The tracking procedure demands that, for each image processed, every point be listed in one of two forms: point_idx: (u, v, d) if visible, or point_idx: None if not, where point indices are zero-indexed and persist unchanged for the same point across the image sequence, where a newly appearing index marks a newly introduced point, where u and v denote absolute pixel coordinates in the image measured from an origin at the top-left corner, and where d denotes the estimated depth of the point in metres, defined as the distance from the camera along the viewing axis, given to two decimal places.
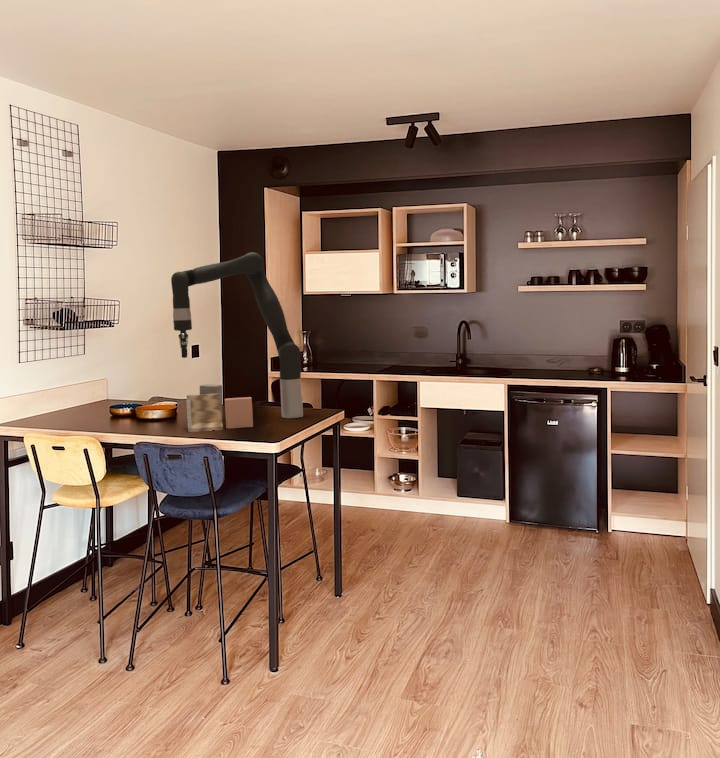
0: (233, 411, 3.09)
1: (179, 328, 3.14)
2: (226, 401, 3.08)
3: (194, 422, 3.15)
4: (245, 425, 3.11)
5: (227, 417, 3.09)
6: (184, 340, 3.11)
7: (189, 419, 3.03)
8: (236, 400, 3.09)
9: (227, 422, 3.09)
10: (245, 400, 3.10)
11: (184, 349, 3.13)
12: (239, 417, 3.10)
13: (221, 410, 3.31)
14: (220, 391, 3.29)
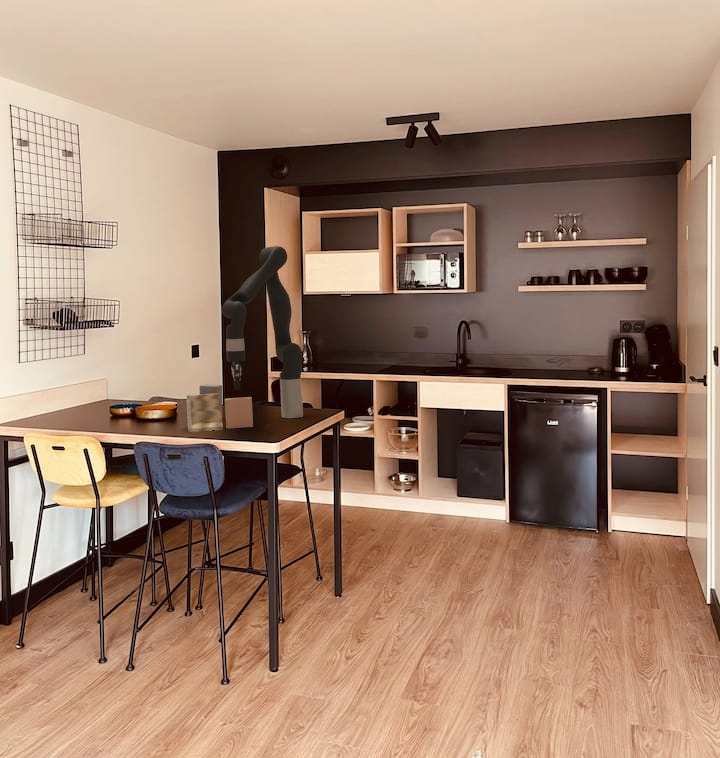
0: (233, 411, 3.09)
1: (233, 359, 3.05)
2: (226, 401, 3.08)
3: (194, 422, 3.15)
4: (245, 425, 3.11)
5: (227, 417, 3.09)
6: (238, 372, 3.03)
7: (189, 419, 3.03)
8: (236, 400, 3.09)
9: (227, 422, 3.09)
10: (245, 400, 3.10)
11: (237, 381, 3.05)
12: (239, 417, 3.10)
13: (221, 410, 3.31)
14: (220, 391, 3.29)
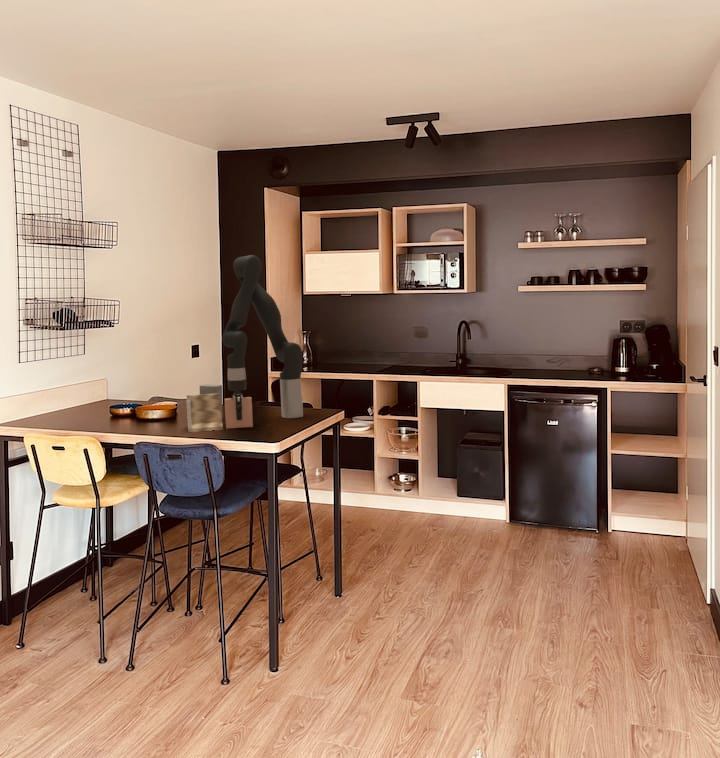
0: (233, 411, 3.09)
1: (234, 388, 3.07)
2: (226, 401, 3.08)
3: (194, 422, 3.15)
4: (245, 425, 3.11)
5: (227, 417, 3.09)
6: (240, 404, 3.05)
7: (189, 419, 3.03)
8: None
9: (227, 422, 3.09)
10: (245, 400, 3.09)
11: (239, 411, 3.08)
12: None
13: (221, 410, 3.31)
14: (220, 391, 3.29)
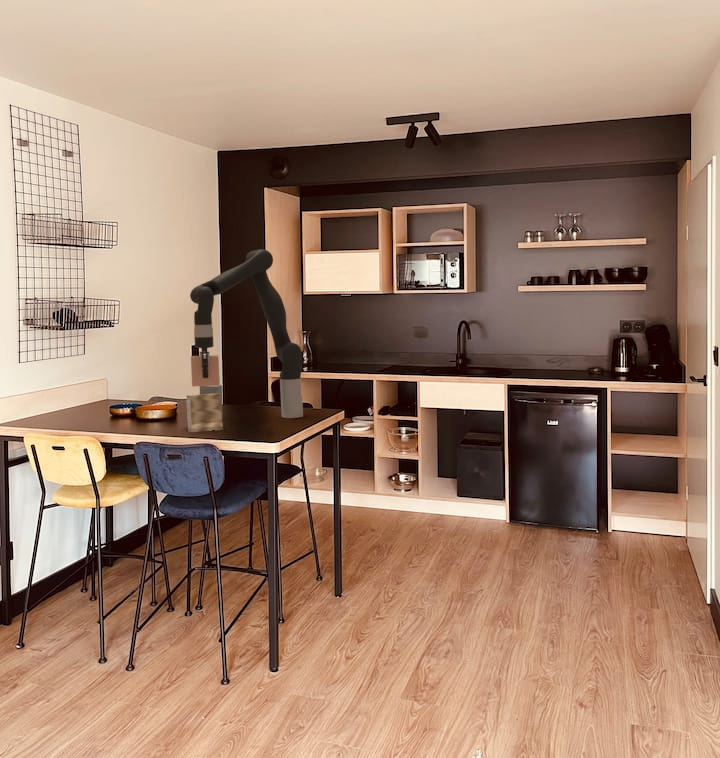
0: (199, 369, 3.03)
1: (200, 345, 3.01)
2: (192, 358, 3.02)
3: (194, 422, 3.15)
4: (211, 383, 3.04)
5: (193, 375, 3.02)
6: (206, 361, 2.99)
7: (189, 419, 3.03)
8: None
9: (193, 380, 3.03)
10: (212, 358, 3.03)
11: (205, 369, 3.02)
12: None
13: (221, 410, 3.31)
14: (220, 391, 3.29)
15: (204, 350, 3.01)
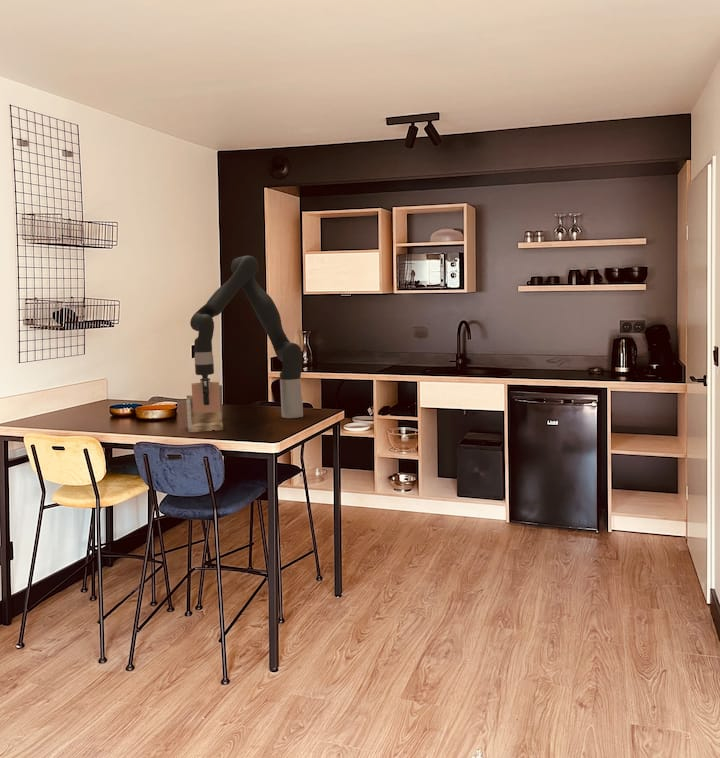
0: (200, 396, 3.04)
1: (201, 373, 3.02)
2: (193, 385, 3.03)
3: (194, 422, 3.15)
4: (212, 410, 3.06)
5: (194, 402, 3.04)
6: (206, 388, 3.01)
7: (189, 419, 3.03)
8: None
9: (194, 407, 3.04)
10: (212, 384, 3.05)
11: (206, 396, 3.03)
12: None
13: (221, 410, 3.31)
14: (220, 391, 3.29)
15: (205, 377, 3.02)
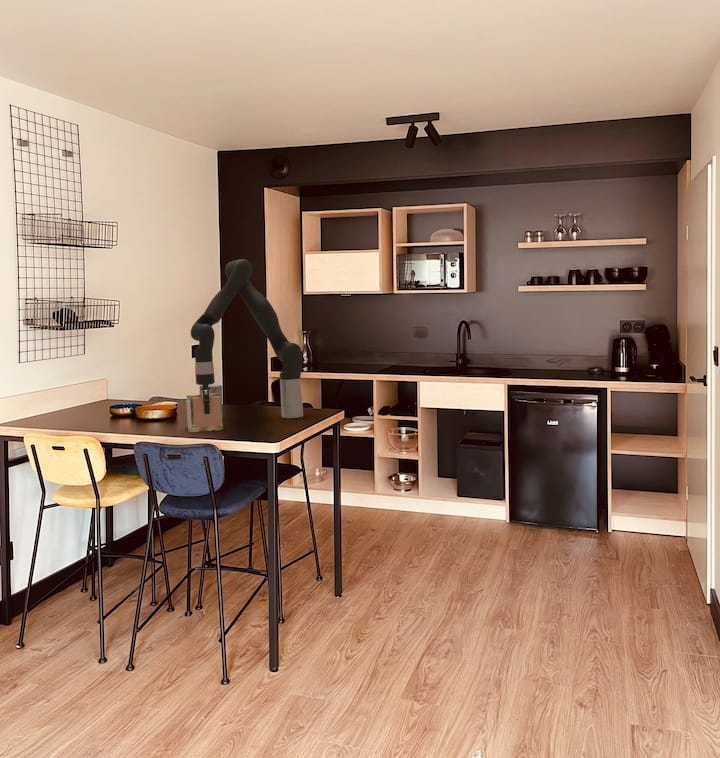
0: (201, 410, 3.05)
1: (202, 382, 3.02)
2: (194, 400, 3.04)
3: None
4: (213, 424, 3.06)
5: (195, 416, 3.04)
6: (207, 397, 3.00)
7: (189, 419, 3.03)
8: None
9: (195, 421, 3.05)
10: (213, 399, 3.05)
11: (207, 405, 3.03)
12: (207, 416, 3.06)
13: (221, 410, 3.31)
14: (220, 391, 3.29)
15: (205, 387, 3.03)
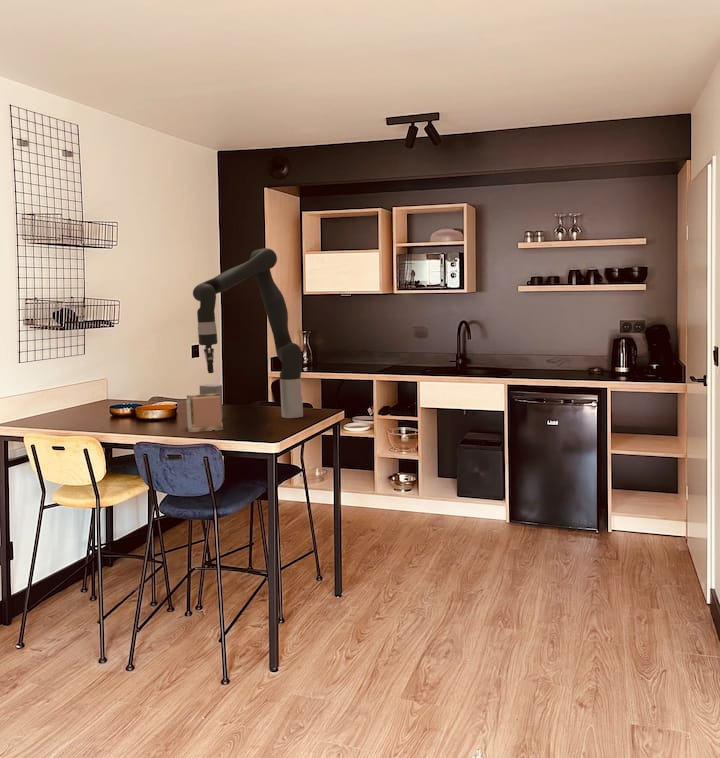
0: (201, 410, 3.05)
1: (205, 343, 3.03)
2: (194, 400, 3.04)
3: None
4: (213, 424, 3.06)
5: (195, 416, 3.04)
6: (210, 355, 3.01)
7: (189, 419, 3.03)
8: (204, 399, 3.04)
9: (195, 421, 3.05)
10: (213, 399, 3.05)
11: (210, 364, 3.03)
12: (207, 416, 3.06)
13: (221, 410, 3.31)
14: (220, 391, 3.29)
15: (208, 347, 3.04)
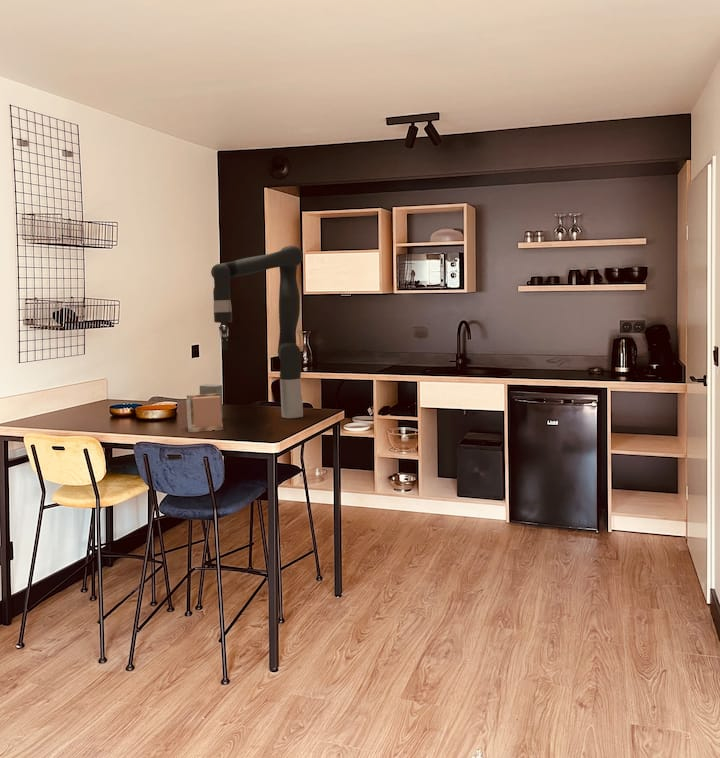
0: (201, 410, 3.05)
1: (220, 320, 3.13)
2: (194, 400, 3.04)
3: None
4: (213, 424, 3.06)
5: (195, 416, 3.04)
6: (225, 332, 3.11)
7: (189, 419, 3.03)
8: (204, 399, 3.04)
9: (195, 421, 3.05)
10: (213, 399, 3.05)
11: (225, 341, 3.13)
12: (207, 416, 3.06)
13: (221, 410, 3.31)
14: (220, 391, 3.29)
15: (223, 324, 3.14)
